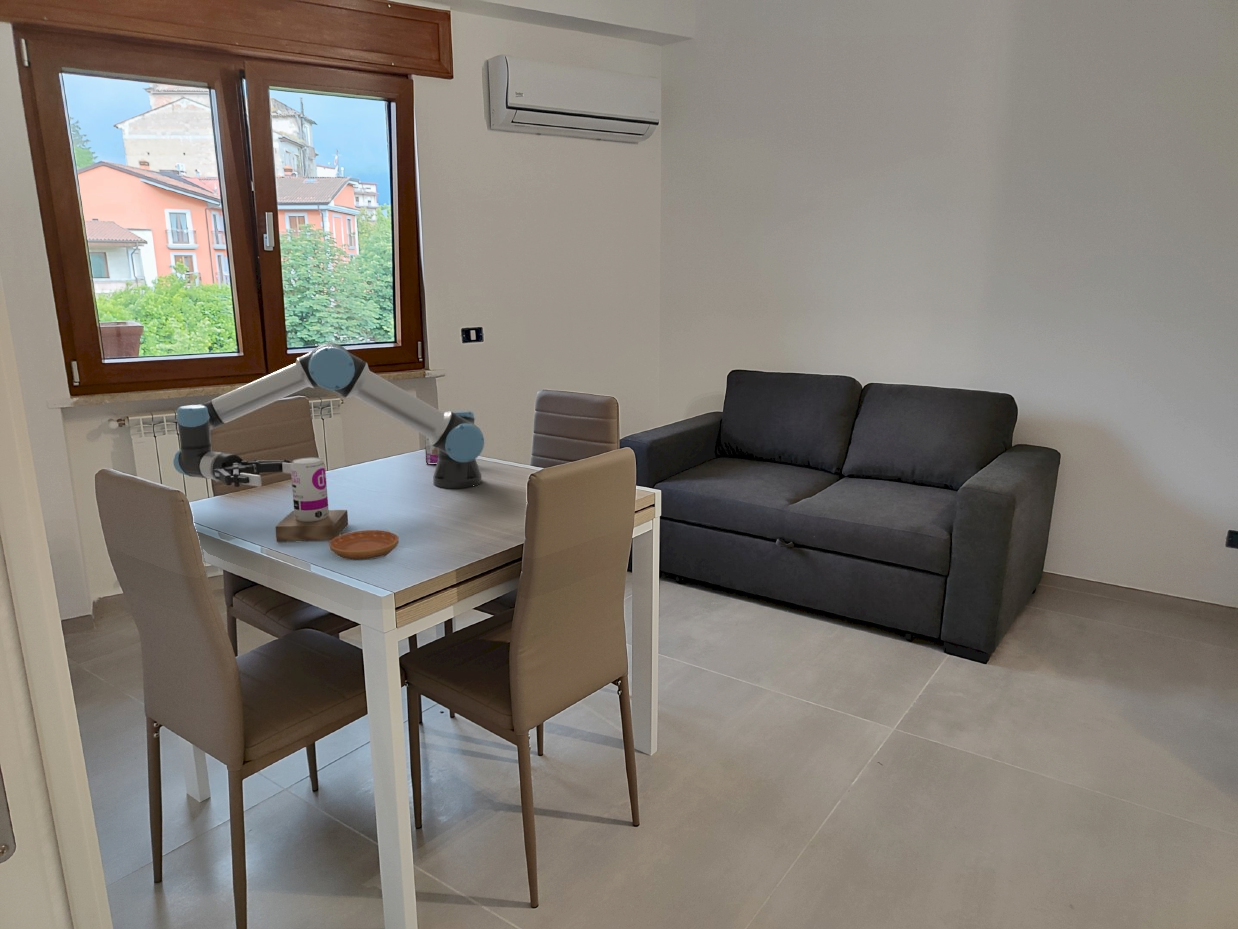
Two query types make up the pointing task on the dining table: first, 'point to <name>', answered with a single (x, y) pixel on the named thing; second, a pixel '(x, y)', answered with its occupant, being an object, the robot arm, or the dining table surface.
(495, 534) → the dining table surface
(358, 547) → the saucer
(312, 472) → the supplement can
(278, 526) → the podium
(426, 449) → the candy bar box
